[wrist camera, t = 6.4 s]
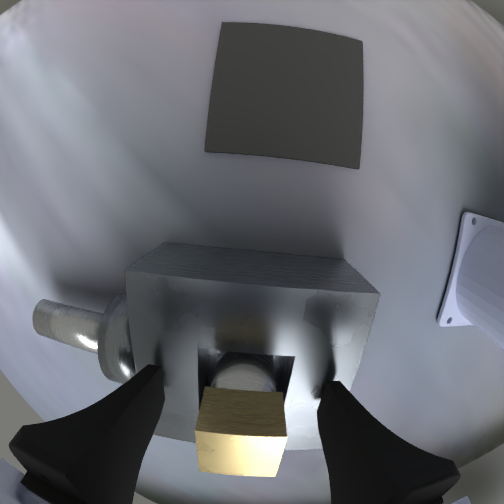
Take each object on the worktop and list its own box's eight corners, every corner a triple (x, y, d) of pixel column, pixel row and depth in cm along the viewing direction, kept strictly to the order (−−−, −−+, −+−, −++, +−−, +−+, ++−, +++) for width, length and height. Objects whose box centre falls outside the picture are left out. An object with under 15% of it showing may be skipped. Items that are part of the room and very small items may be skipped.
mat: (360, 43, 12) (362, 41, 11) (356, 169, 14) (359, 168, 13) (223, 25, 12) (222, 22, 11) (205, 152, 14) (204, 151, 13)
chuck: (344, 259, 15) (381, 294, 10) (312, 395, 17) (324, 450, 12) (57, 232, 15) (4, 251, 10) (77, 358, 17) (44, 396, 12)
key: (269, 370, 14) (275, 476, 8) (219, 367, 14) (199, 471, 8) (275, 328, 14) (287, 436, 7) (220, 324, 14) (194, 430, 7)
